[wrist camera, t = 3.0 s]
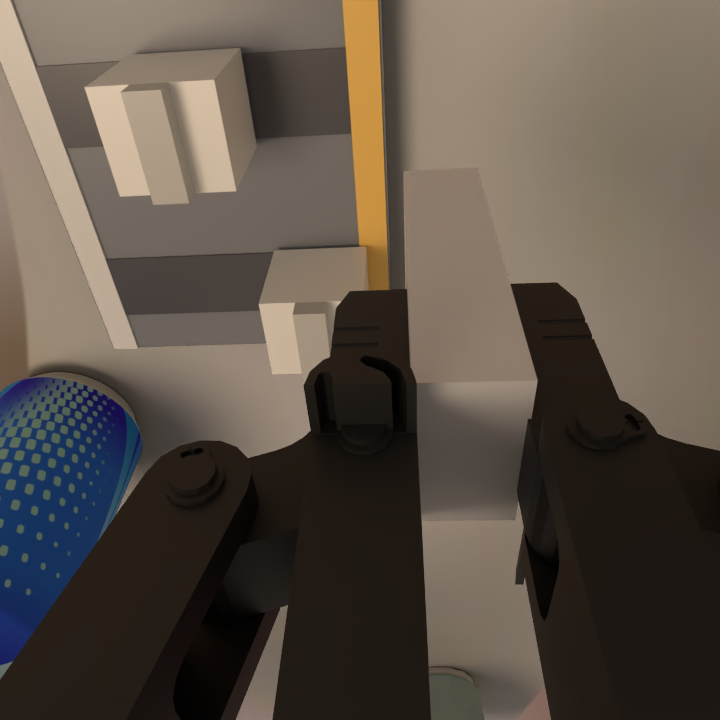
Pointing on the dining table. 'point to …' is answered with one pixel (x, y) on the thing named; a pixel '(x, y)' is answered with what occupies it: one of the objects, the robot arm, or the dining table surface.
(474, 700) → the disposable coffee cup
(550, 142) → the dining table surface
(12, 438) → the beer can
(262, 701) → the dining table surface
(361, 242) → the panel
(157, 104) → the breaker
